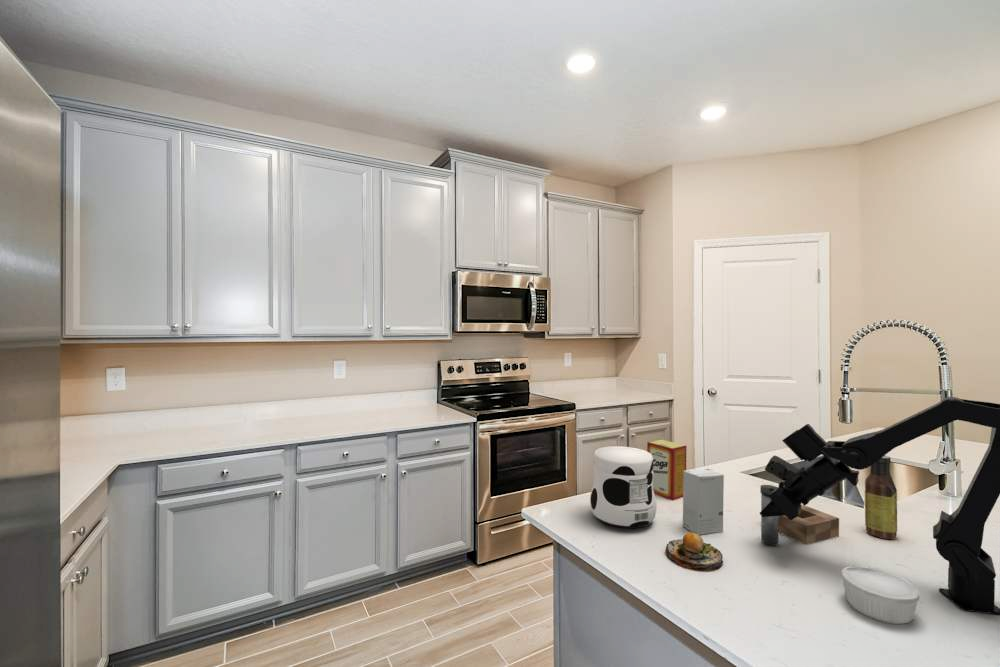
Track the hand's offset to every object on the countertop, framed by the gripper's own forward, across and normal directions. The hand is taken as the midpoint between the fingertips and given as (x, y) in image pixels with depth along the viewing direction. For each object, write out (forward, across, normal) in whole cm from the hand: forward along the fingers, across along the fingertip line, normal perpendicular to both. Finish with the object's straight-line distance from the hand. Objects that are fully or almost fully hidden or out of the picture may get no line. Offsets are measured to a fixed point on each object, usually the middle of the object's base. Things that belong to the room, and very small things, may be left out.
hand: (763, 512), depth 110 cm
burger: (+12, +19, -1) cm, 23 cm away
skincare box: (+15, +3, -4) cm, 15 cm away
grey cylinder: (+4, 0, +6) cm, 7 cm away
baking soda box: (+27, -15, -16) cm, 35 cm away
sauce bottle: (-9, -25, +20) cm, 33 cm away
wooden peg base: (+2, -14, +9) cm, 16 cm away
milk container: (+27, +12, -17) cm, 34 cm away
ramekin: (-10, +14, +21) cm, 28 cm away
